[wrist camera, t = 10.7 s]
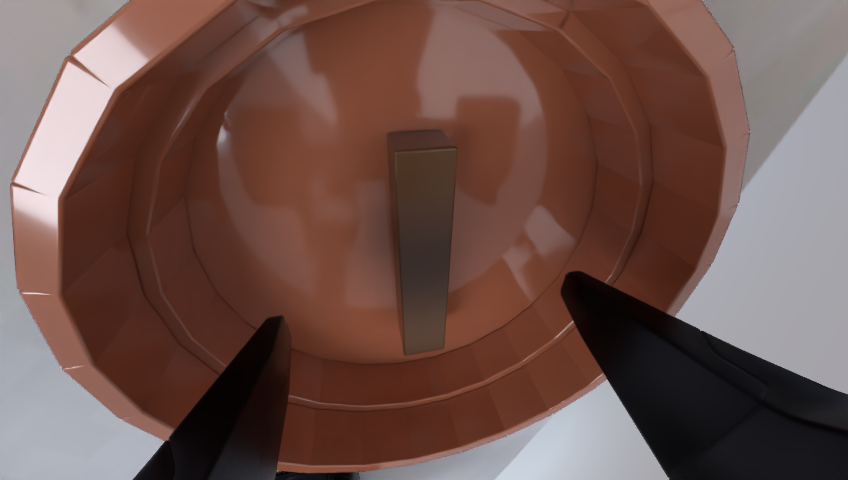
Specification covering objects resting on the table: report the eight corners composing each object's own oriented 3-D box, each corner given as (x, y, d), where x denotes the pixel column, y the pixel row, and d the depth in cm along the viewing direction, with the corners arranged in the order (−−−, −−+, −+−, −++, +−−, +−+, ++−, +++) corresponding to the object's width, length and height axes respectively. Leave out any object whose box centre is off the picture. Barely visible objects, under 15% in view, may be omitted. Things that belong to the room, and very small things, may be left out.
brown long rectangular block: (435, 318, 15) (444, 349, 14) (398, 324, 15) (404, 357, 13) (441, 128, 10) (459, 146, 8) (385, 131, 10) (393, 151, 8)
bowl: (551, 335, 19) (606, 417, 15) (254, 391, 16) (224, 511, 12) (688, -31, 9) (948, -72, 5) (-7, -62, 6) (-617, -211, 2)
